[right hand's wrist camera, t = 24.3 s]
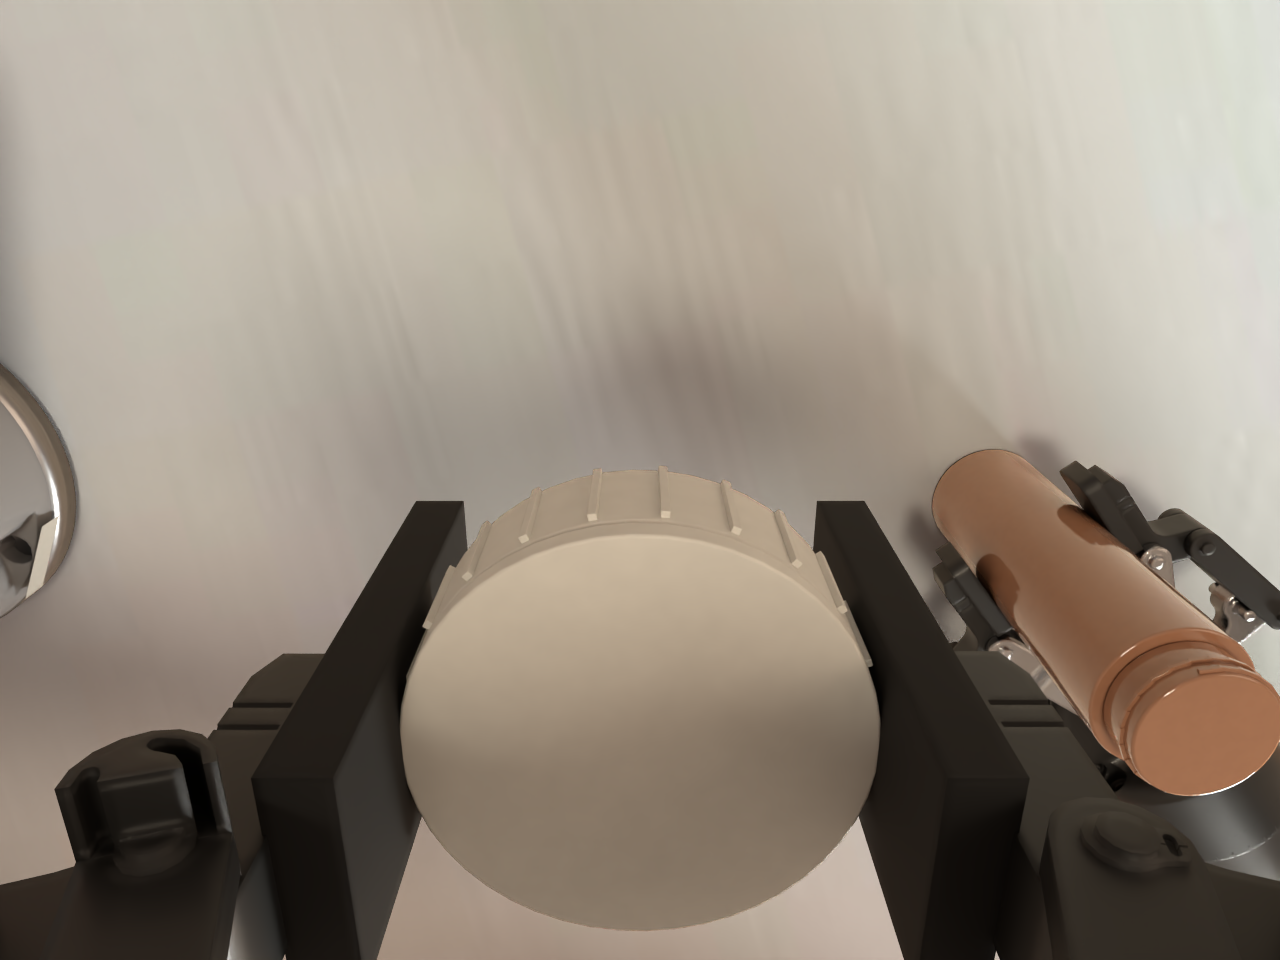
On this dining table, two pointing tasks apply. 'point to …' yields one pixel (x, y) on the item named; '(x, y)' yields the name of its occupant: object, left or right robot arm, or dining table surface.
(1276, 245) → the dining table surface
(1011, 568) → the jar
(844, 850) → the dining table surface
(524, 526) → the lid
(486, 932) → the dining table surface
